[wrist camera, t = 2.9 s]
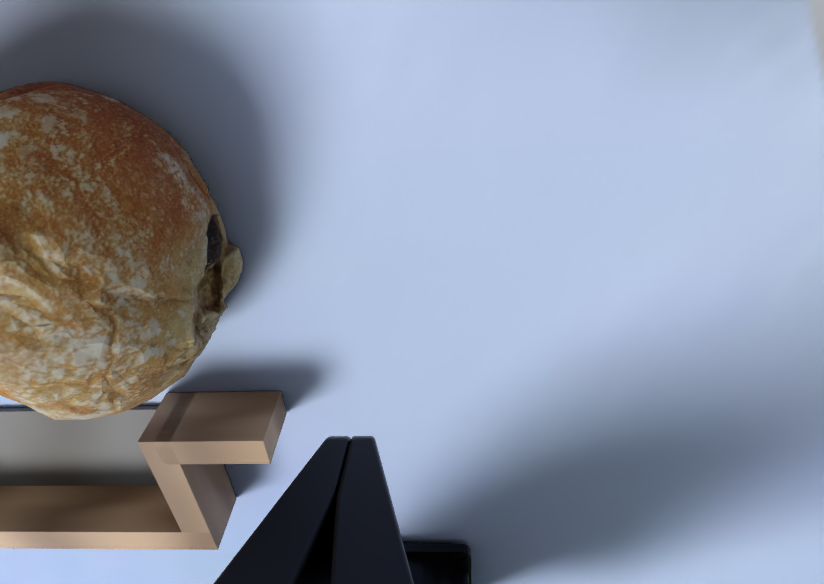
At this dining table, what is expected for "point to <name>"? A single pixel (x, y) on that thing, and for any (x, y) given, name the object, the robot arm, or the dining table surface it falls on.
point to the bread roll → (101, 254)
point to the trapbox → (132, 472)
